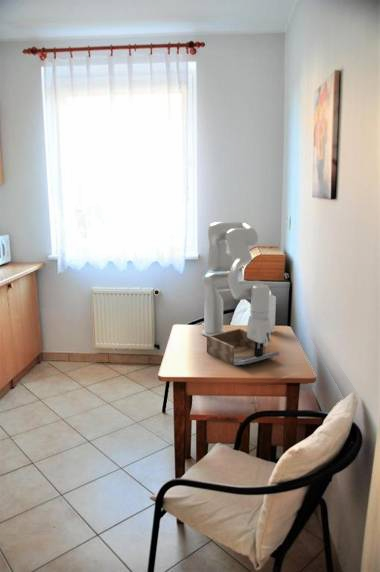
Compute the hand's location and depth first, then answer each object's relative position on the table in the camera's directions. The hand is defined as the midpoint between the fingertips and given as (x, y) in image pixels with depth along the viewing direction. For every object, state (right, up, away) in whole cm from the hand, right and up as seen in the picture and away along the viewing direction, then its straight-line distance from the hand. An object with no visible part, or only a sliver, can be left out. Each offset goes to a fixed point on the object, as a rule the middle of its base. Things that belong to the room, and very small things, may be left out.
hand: (258, 356), depth 195 cm
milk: (+11, +6, +47) cm, 49 cm away
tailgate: (-3, -3, +4) cm, 6 cm away
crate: (-8, -1, +13) cm, 15 cm away
